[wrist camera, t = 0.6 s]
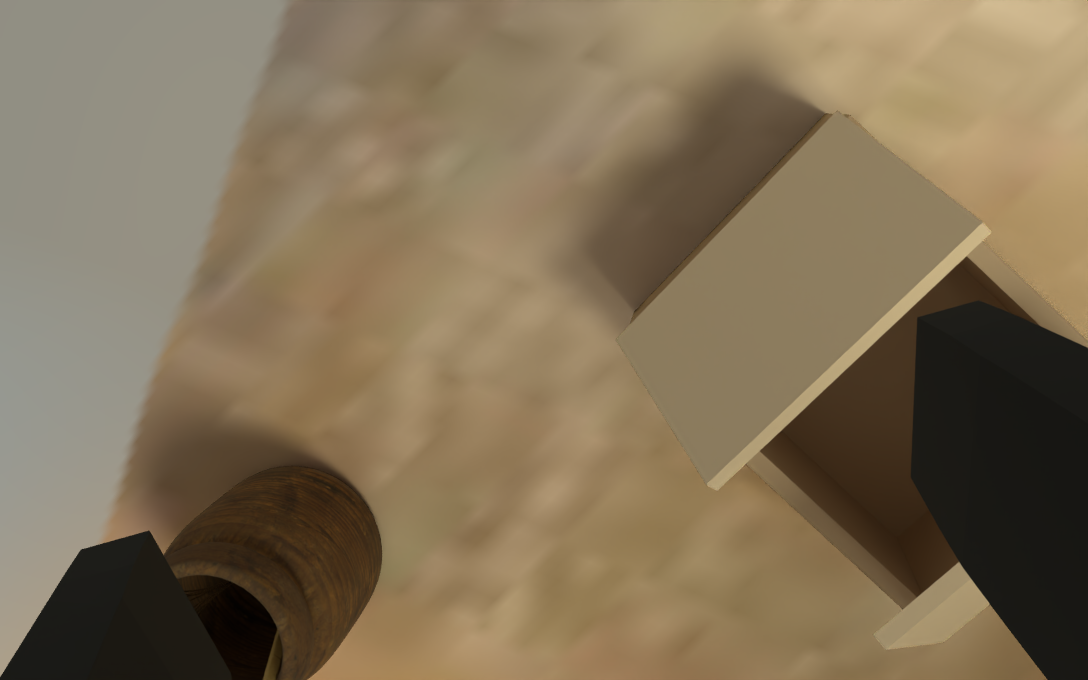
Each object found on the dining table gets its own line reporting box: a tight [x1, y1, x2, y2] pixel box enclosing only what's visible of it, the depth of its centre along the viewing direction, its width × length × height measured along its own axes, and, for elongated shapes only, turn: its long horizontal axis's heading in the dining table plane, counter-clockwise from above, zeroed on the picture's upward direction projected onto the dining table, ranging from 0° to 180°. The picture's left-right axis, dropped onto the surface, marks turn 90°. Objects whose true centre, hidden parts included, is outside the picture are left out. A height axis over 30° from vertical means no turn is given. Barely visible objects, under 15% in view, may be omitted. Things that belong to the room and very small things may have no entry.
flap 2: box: [873, 562, 990, 650], centre depth 24 cm, size 6×8×1 cm
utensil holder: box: [164, 466, 382, 680], centre depth 29 cm, size 6×6×12 cm
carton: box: [630, 113, 1088, 609], centre depth 28 cm, size 11×8×5 cm
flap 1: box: [616, 111, 992, 491], centre depth 23 cm, size 6×8×1 cm
